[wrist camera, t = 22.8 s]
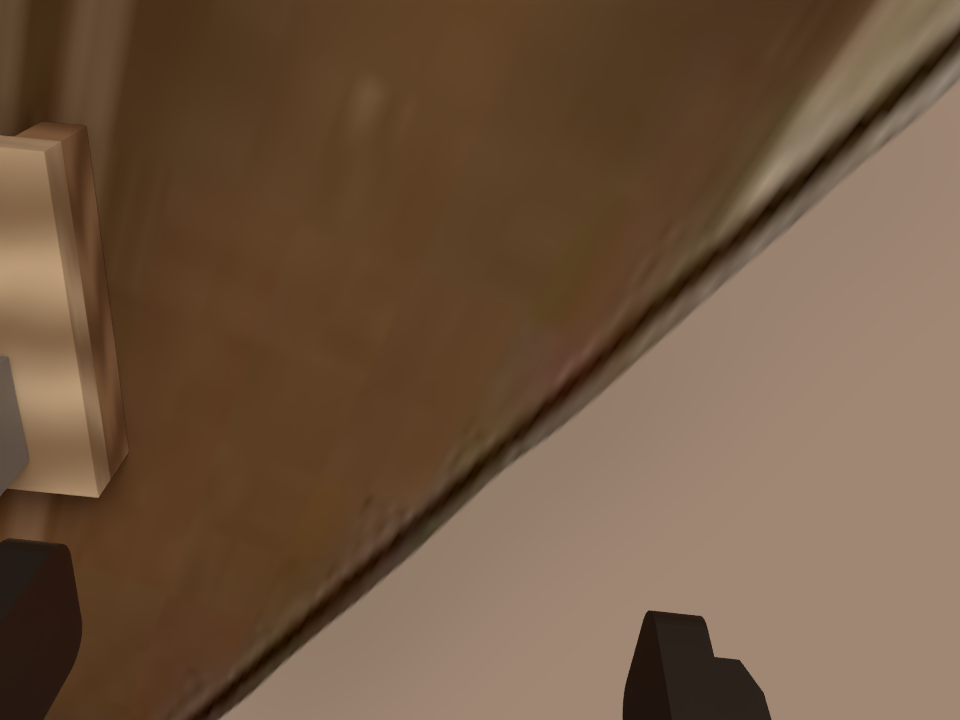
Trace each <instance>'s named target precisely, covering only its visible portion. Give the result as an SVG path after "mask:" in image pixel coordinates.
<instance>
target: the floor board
mask: <svg viewBox="0 0 960 720" xmlns="http://www.w3.org/2000/svg"><path fill="white" fill-rule="evenodd" d="M0 356H6V357H8V358H9V363H10V368H11V373H12V378H13V383H14V388H15V393H16V398H17V402H18V407H19V412H20V417H21V422H22V427H23V432H24V437H25V442H26V447H27V452H28V457H29V462H28V463H27V464H26V466H25V467H24V468H23V469H22V470H21V472H20V473H19V474H18V475H17V477H16V478H15V479H14V480H13V481H12V483H11V484H10V485H9V486H8V487H7V489H16V490H26V491H36V492H46V493H56V494H66V495H76V496H87V497H97V498H99V496H100V495H101V493H102V492H103V490H104V489H105V487H106V486H107V484H108V483H109V481H110V480H111V478H112V477H113V475H114V474H115V472H116V471H117V469H118V468H119V466H120V465H121V463H122V462H123V460H124V459H125V457H126V456H127V454H128V453H129V448H128V441H127V433H126V425H125V418H124V410H123V402H122V395H121V387H120V379H119V372H118V364H117V356H116V349H115V341H114V333H113V326H112V318H111V310H110V303H109V295H108V288H107V280H106V272H105V265H104V257H103V249H102V242H101V234H100V226H99V219H98V211H97V203H96V196H95V188H94V180H93V173H92V165H91V157H90V150H89V142H88V134H87V127H86V126H81V125H71V124H61V123H52V122H40V123H38V124H36V125H34V126H33V127H31V128H29V129H27V130H25V131H23V132H21V133H20V134H18V135H16V136H14V137H13V136H3V135H0Z"/></svg>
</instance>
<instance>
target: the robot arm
mask: <svg viewBox="0 0 960 720" xmlns="http://www.w3.org/2000/svg"><path fill="white" fill-rule="evenodd" d="M81 636H82V619H81V613H80V607H79V601H78V595H77V589H76V583H75V577H74V571H73V565H72V559H71V554H70V551H69V548H68V547H67V546H66V545H64V544H58V543H49V542H40V541H31V540H22V539H13V538H8V539H5V540H4V541H2V542H1V543H0V720H43V719H44V718H45V716H46V714H47V712H48V711H49V709H50V707H51V705H52V703H53V702H54V700H55V698H56V696H57V694H58V693H59V691H60V689H61V687H62V686H63V684H64V682H65V680H66V678H67V677H68V675H69V673H70V671H71V669H72V667H73V665H74V663H75V660H76V657H77V654H78V651H79V647H80V643H81ZM623 720H771V717H770V713H769V710H768V706H767V703H766V700H765V696H764V693H763V691H762V690H761V689H760V687H759V686H758V685H757V683H756V682H755V680H754V679H753V678H752V676H751V675H750V674H749V672H748V671H747V670H746V668H745V667H744V665H743V664H742V663H741V661H740V660H736V659H727V658H717V657H714V654H713V649H712V645H711V641H710V637H709V633H708V629H707V625H706V622H705V620H704V619H703V617H701V616H695V615H686V614H677V613H668V612H659V611H648V612H647V613H646V615H645V617H644V620H643V623H642V627H641V630H640V634H639V638H638V641H637V645H636V648H635V652H634V656H633V660H632V663H631V667H630V670H629V674H628V678H627V681H626V685H625V691H624V699H623Z"/></svg>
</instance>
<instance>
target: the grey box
mask: <svg viewBox="0 0 960 720" xmlns="http://www.w3.org/2000/svg"><path fill="white" fill-rule="evenodd" d="M28 462H29V457H28V452H27V447H26V442H25V437H24V432H23V427H22V422H21V417H20V412H19V407H18V402H17V398H16V393H15V388H14V383H13V378H12V373H11V368H10V363H9V358H8V357H6V356H0V496H1V495H2V494H3V492H4V491H5V490H6V489H7V487H8V486H9V485H10V484H11V483H12V481H13V480H14V479H15V478H16V477H17V475H18V474H19V473H20V472H21V470H22V469H23V468H24V467H25V466H26V464H27V463H28Z"/></svg>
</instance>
